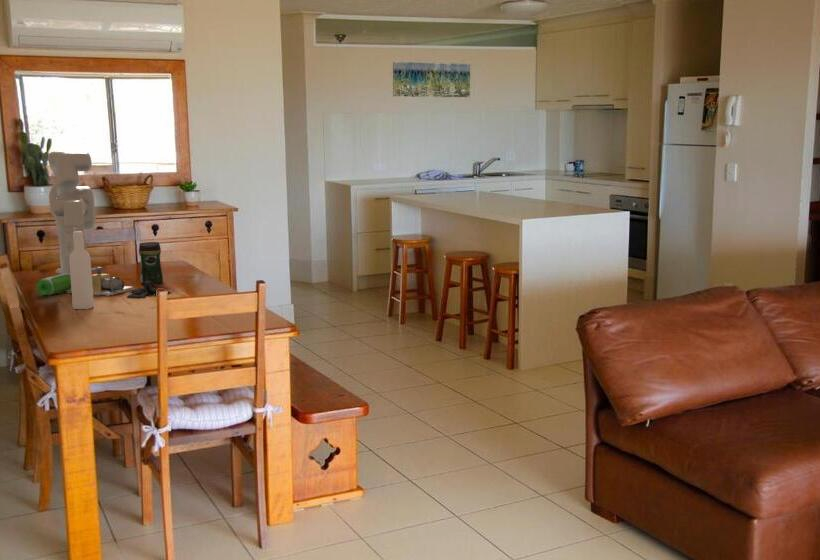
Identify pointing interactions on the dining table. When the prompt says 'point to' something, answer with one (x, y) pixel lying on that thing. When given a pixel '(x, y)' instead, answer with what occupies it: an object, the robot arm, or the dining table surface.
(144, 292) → the cloth
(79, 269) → the bottle
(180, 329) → the dining table surface
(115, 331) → the dining table surface
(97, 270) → the lever
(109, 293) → the valve pipe
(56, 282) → the speaker
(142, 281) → the coffee jar
